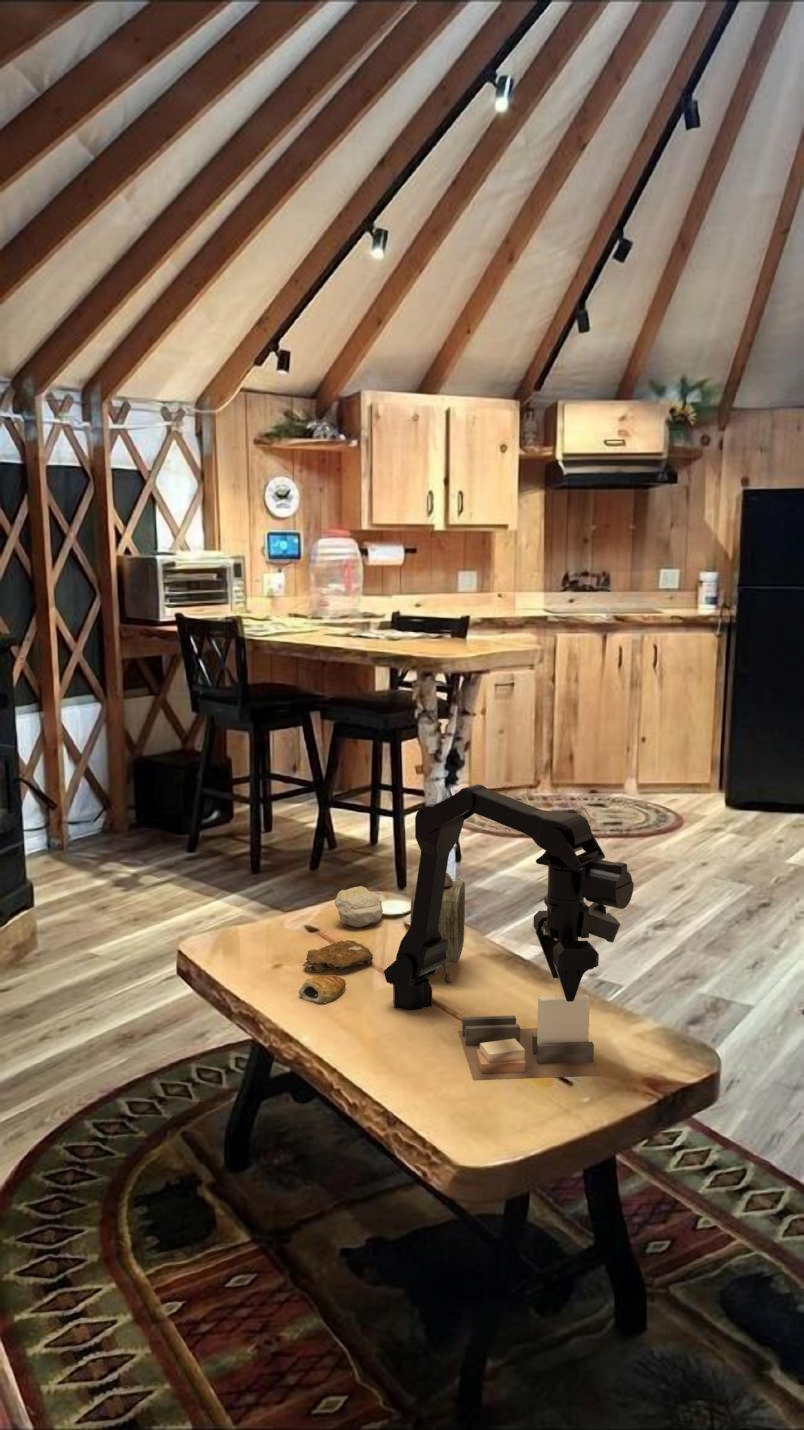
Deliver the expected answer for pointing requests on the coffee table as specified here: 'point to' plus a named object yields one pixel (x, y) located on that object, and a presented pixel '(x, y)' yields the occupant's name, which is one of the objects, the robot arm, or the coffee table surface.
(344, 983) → the pastry
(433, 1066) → the coffee table surface
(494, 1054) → the birch offcut
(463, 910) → the tabletop clock
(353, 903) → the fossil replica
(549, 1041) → the off-white sheet
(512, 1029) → the walnut rack
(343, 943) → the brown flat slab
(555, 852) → the robot arm
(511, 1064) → the cedar offcut
